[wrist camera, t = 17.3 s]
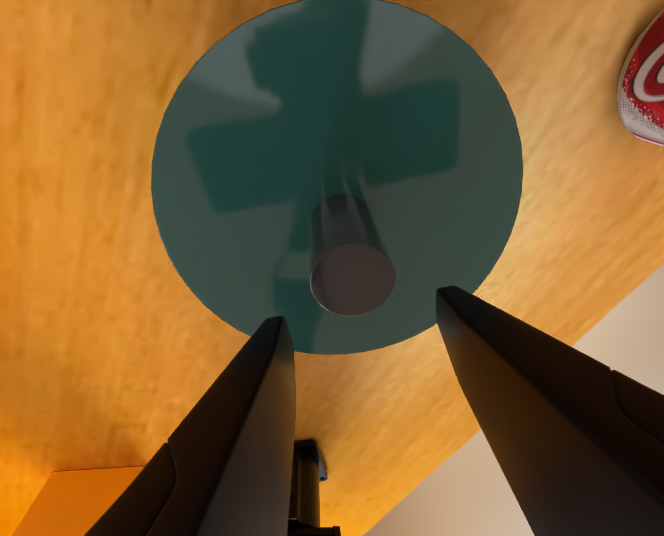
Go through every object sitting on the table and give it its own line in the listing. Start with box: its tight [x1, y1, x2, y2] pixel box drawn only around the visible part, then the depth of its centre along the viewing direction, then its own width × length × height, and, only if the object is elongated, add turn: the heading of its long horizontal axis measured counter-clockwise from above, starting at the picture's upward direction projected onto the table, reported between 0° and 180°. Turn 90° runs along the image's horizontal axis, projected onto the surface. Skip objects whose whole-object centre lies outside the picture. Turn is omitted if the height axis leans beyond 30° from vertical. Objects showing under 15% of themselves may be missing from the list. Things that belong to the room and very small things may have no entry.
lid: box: [151, 0, 523, 355], centre depth 11 cm, size 14×14×5 cm
